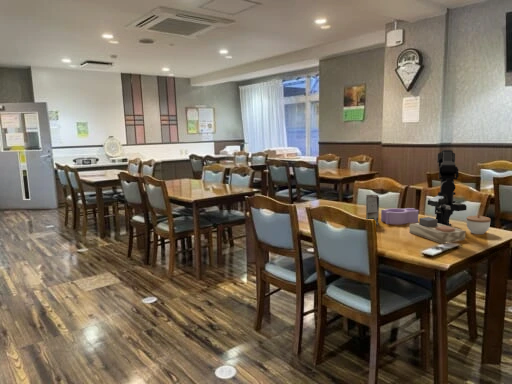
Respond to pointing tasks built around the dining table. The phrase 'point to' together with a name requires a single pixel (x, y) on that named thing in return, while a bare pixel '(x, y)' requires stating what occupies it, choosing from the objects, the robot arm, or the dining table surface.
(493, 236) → the dining table surface
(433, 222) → the charcoal button
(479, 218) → the lidded jar
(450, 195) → the robot arm
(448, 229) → the terracotta button
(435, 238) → the button console
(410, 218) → the mauve piece
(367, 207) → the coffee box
